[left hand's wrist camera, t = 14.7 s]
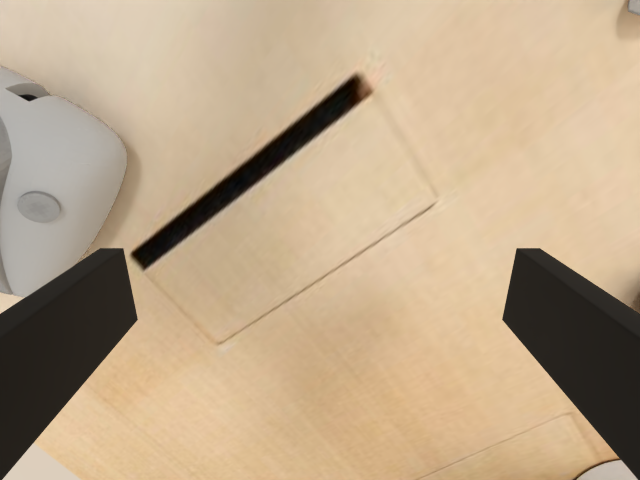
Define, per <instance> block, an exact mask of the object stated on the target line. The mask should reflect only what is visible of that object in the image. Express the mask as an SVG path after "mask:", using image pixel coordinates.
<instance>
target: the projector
mask: <svg viewBox="0 0 640 480" xmlns="http://www.w3.org/2000/svg"><path fill="white" fill-rule="evenodd" d="M126 166H127V151H126V148H125V146H124V144H123V142H122V140H121V139H120V138H119V136H118V135H117V134H116V133H115V132H114V131H113V130H112V129H111V128H110V127H109V126H107V125H106V124H105V123H103V122H102V121H101V120H99V119H98V118H96V117H95V116H93V115H91V114H90V113H88V112H87V111H85V110H83V109H82V108H80V107H78V106H77V105H75V104H73V103H71V102H70V101H68V100H66V99H64V98H62V97H59V96H49V94H48V92H47V91H46V89H45V88H44V87H42V86H41V85H39V84H37V83H35V82H33V81H31V80H30V79H28V78H26V77H24V76H22V75H20V74H18V73H16V72H14V71H12V70H10V69H8V68H5V67H3V66H0V292H1V293H5V294H10V295H15V296H20V297H27V296H28V295H30V294H32V293H33V292H35V291H36V290H38V289H39V288H41V287H42V286H44V285H45V284H47V283H48V282H50V281H51V280H53V279H54V278H56V277H57V276H59V275H61V274H62V273H64V272H65V271H67V270H68V269H70V268H71V267H73V266H74V265H75V264H76V263H77V262H78V261H79V259H80V258H81V257H82V256H83V254H84V253H85V252H86V251H87V249H88V248H89V246H90V245H91V243H92V242H93V240H94V239H95V238H96V236H97V234H98V233H99V231H100V229H101V227H102V226H103V224H104V222H105V220H106V218H107V216H108V214H109V212H110V210H111V208H112V206H113V204H114V202H115V199H116V197H117V195H118V192H119V190H120V187H121V184H122V182H123V178H124V175H125V171H126Z"/></svg>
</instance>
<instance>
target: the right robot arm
mask: <svg viewBox="0 0 640 480" xmlns="http://www.w3.org/2000/svg"><path fill="white" fill-rule="evenodd" d="M576 480H638V479H637V478H636V477H635V476H634V474H633V473H632V472H631V471H630V470H629V469H628V467H627V466H626V465H625V464H624V463H623V461H622V460H616V461H611V462H608V463H604V464H601V465H599V466H596V467H594V468H592V469H590V470H589V471H587V472H585V473H584V474H583V475H581V476H580V477H579V478H578V479H576Z"/></svg>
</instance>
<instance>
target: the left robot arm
mask: <svg viewBox="0 0 640 480" xmlns="http://www.w3.org/2000/svg"><path fill="white" fill-rule="evenodd" d="M137 320H138V319H137V314H136V309H135V304H134V299H133V294H132V289H131V284H130V279H129V274H128V269H127V265H126V260H125V255H124V250H123V248H100V249H99V250H97V251H96V252H94V253H93V254H91V255H90V256H88V257H86V258H85V259H83V260H82V261H80V262H79V263H77V264H76V265H74V266H73V267H71V268H70V269H68V270H67V271H65V272H64V273H62V274H61V275H59V276H57V277H56V278H54V279H53V280H51V281H50V282H48V283H47V284H45V285H44V286H42V287H41V288H39V289H38V290H36V291H35V292H33V293H32V294H30V295H28V296H27V297H25V298H24V299H22V300H21V301H19V302H18V303H16V304H15V305H13V306H12V307H10V308H9V309H7V310H6V311H4V312H3V313H1V314H0V480H2V479H3V478H4V477H5V476H6V474H7V473H8V472H9V471H10V470H11V468H12V467H13V466H14V465H15V464H16V463H17V461H18V460H19V459H20V458H21V457H22V455H23V454H24V453H25V452H26V451H27V450H28V448H29V447H30V446H31V445H32V444H33V443H34V441H35V440H36V439H37V438H38V437H39V435H40V434H41V433H42V432H43V431H44V430H45V428H46V427H47V426H48V425H49V424H50V422H51V421H52V420H53V419H54V418H55V417H56V415H57V414H58V413H59V412H60V411H61V409H62V408H63V407H64V406H65V405H66V404H67V402H68V401H69V400H70V399H71V398H72V397H73V395H74V394H75V393H76V392H77V391H78V389H79V388H80V387H81V386H82V385H83V384H84V382H85V381H86V380H87V379H88V378H89V376H90V375H91V374H92V373H93V372H94V371H95V369H96V368H97V367H98V366H99V365H100V363H101V362H102V361H103V360H104V359H105V358H106V356H107V355H108V354H109V353H110V352H111V350H112V349H113V348H114V347H115V346H116V345H117V343H118V342H119V341H120V340H121V339H122V337H123V336H124V335H125V334H126V333H127V332H128V330H129V329H130V328H131V327H132V326H133V325H134V323H135V322H136V321H137ZM502 320H503V321H504V322H505V323H506V325H507V326H508V327H509V328H510V329H511V330H512V332H513V333H514V334H515V335H516V336H517V337H518V339H519V340H520V341H521V342H522V343H523V345H524V346H525V347H526V348H527V349H528V350H529V352H530V353H531V354H532V355H533V356H534V358H535V359H536V360H537V361H538V362H539V363H540V365H541V366H542V367H543V368H544V369H545V371H546V372H547V373H548V374H549V375H550V376H551V378H552V379H553V380H554V381H555V382H556V384H557V385H558V386H559V387H560V388H561V389H562V391H563V392H564V393H565V394H566V395H567V397H568V398H569V399H570V400H571V401H572V402H573V404H574V405H575V406H576V407H577V408H578V409H579V411H580V412H581V413H582V414H583V415H584V417H585V418H586V419H587V420H588V421H589V422H590V424H591V425H592V426H593V427H594V428H595V430H596V431H597V432H598V433H599V434H600V435H601V437H602V438H603V439H604V440H605V441H606V443H607V444H608V445H609V446H610V447H611V448H612V450H613V451H614V452H615V453H616V454H617V456H618V457H619V458H620V459H621V460H622V461H623V463H624V464H625V465H626V466H627V467H628V469H629V470H630V471H631V472H632V473H633V474H634V476H635V477H636V478H637V479H638V480H640V314H639V313H637V312H636V311H634V310H633V309H631V308H630V307H628V306H627V305H625V304H624V303H622V302H621V301H619V300H618V299H616V298H615V297H613V296H612V295H610V294H608V293H607V292H605V291H604V290H602V289H601V288H599V287H598V286H596V285H595V284H593V283H592V282H590V281H589V280H587V279H586V278H584V277H583V276H581V275H579V274H578V273H576V272H575V271H573V270H572V269H570V268H569V267H567V266H566V265H564V264H563V263H561V262H560V261H558V260H557V259H555V258H554V257H552V256H550V255H549V254H547V253H546V252H544V251H543V250H541V249H540V248H517V250H516V255H515V260H514V265H513V269H512V274H511V279H510V284H509V289H508V294H507V299H506V304H505V309H504V314H503V319H502Z"/></svg>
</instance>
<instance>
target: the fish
mask: <svg viewBox="0 0 640 480" xmlns="http://www.w3.org/2000/svg"><path fill="white" fill-rule="evenodd" d="M628 12H631V13H634V14H636V15H640V0H629V2H628Z"/></svg>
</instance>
